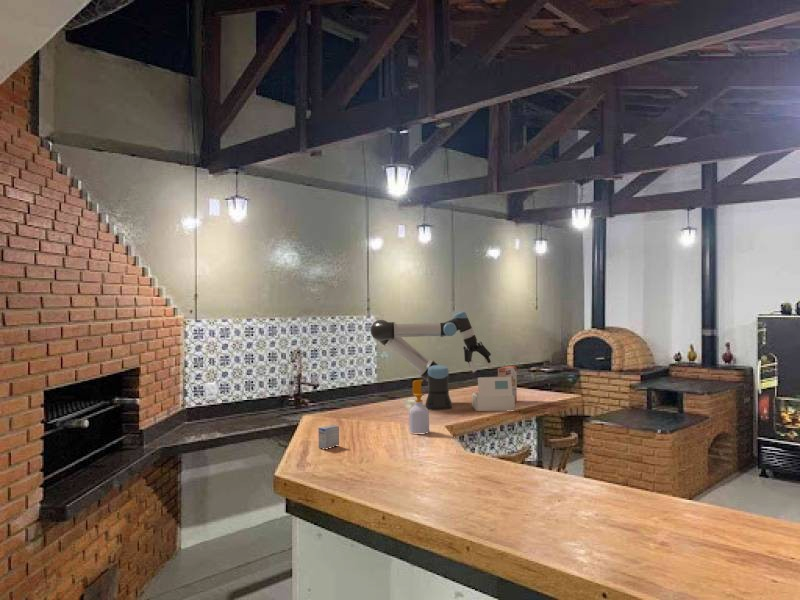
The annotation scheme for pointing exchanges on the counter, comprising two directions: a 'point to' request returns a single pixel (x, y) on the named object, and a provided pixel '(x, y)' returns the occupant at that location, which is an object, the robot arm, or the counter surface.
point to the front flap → (495, 386)
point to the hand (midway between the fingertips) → (482, 369)
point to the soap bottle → (418, 412)
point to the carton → (493, 402)
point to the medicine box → (328, 436)
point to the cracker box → (510, 372)
